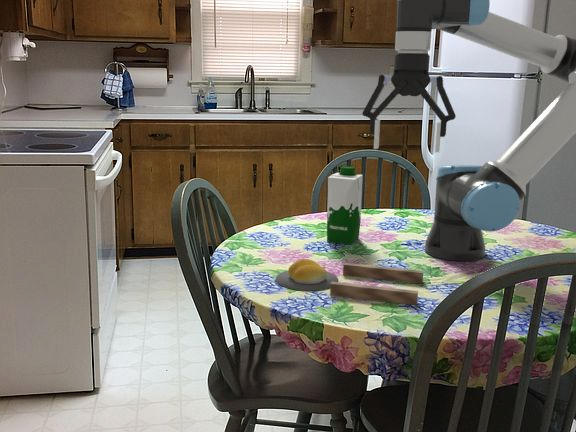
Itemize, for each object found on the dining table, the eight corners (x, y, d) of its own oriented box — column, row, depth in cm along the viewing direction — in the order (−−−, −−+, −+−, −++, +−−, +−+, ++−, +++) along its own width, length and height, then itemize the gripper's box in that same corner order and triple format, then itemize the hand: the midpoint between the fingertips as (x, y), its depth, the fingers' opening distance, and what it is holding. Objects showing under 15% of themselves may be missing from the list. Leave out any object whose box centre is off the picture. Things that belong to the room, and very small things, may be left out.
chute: (422, 281, 143) (423, 271, 142) (416, 305, 129) (417, 293, 128) (344, 272, 148) (344, 262, 147) (330, 294, 134) (330, 283, 133)
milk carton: (362, 237, 178) (365, 167, 173) (353, 246, 169) (356, 172, 165) (332, 234, 181) (335, 164, 176) (322, 242, 173) (324, 169, 168)
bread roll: (299, 287, 137) (299, 269, 136) (283, 274, 145) (284, 257, 144) (333, 283, 140) (334, 265, 139) (316, 270, 148) (317, 254, 147)
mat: (343, 273, 147) (343, 272, 147) (330, 294, 134) (330, 292, 134) (286, 267, 151) (286, 266, 151) (267, 286, 138) (267, 285, 138)
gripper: (472, 53, 138) (464, 150, 143) (358, 52, 145) (354, 144, 150) (471, 53, 131) (463, 155, 136) (352, 51, 138) (348, 148, 143)
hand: (406, 150), depth 143 cm, fingers open, 13 cm apart
